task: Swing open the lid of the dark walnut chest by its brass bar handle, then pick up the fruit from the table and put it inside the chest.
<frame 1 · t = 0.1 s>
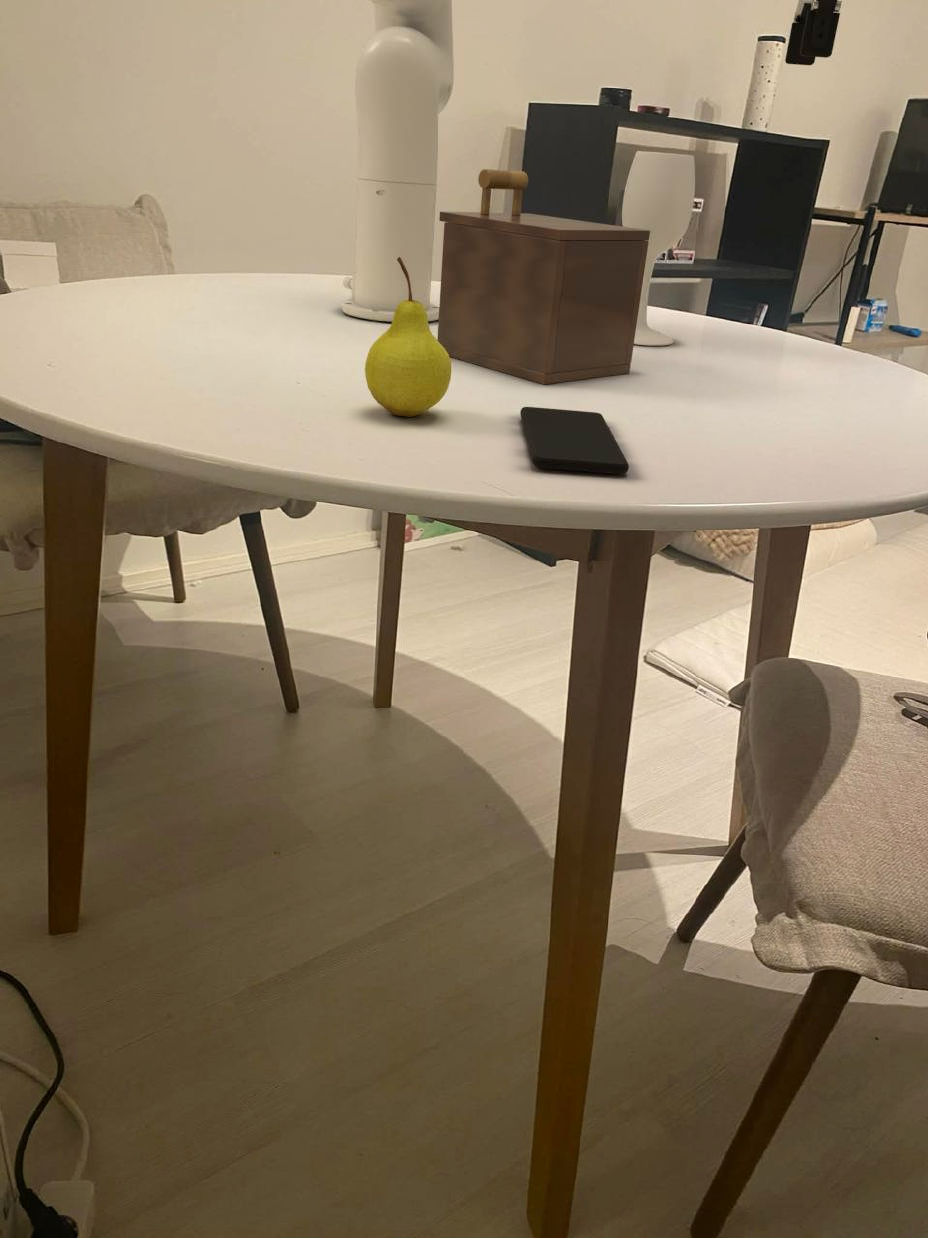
hand: (806, 60, 107), 31 cm above the table, tool pointing down, fingers open, 9 cm apart
smartphone: (569, 445, 75), on the table
fruit: (406, 416, 80), on the table
chest: (532, 362, 104), on the table
lid: (545, 202, 97), point 16 cm above the table, hinge at 0.0°
wineglass: (637, 341, 122), on the table
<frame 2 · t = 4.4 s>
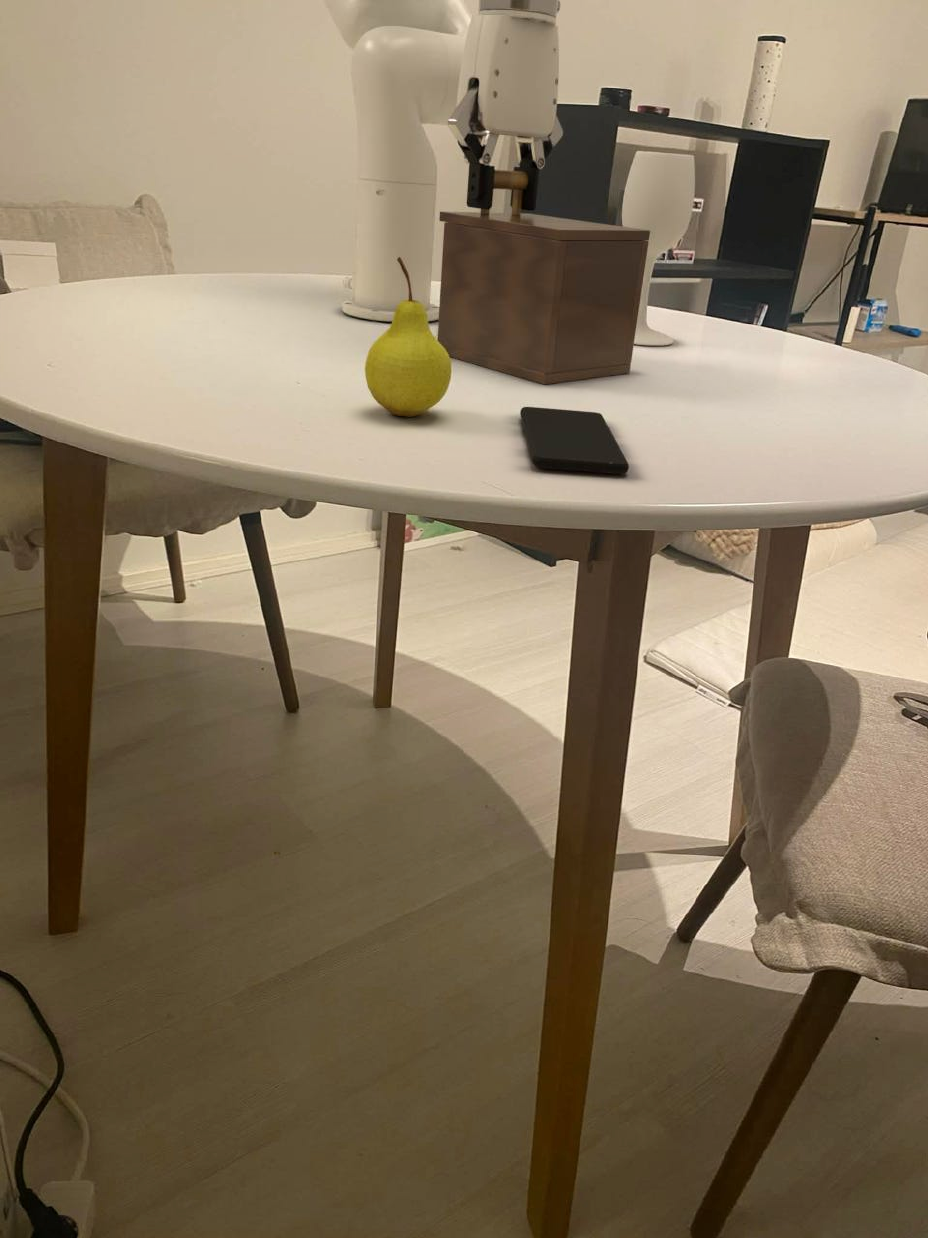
hand: (501, 206, 101), 15 cm above the table, tool pointing down, fingers closed on lid, 5 cm apart
lid: (545, 202, 97), point 16 cm above the table, hinge at 0.0°, touching gripper
everything else where it was.
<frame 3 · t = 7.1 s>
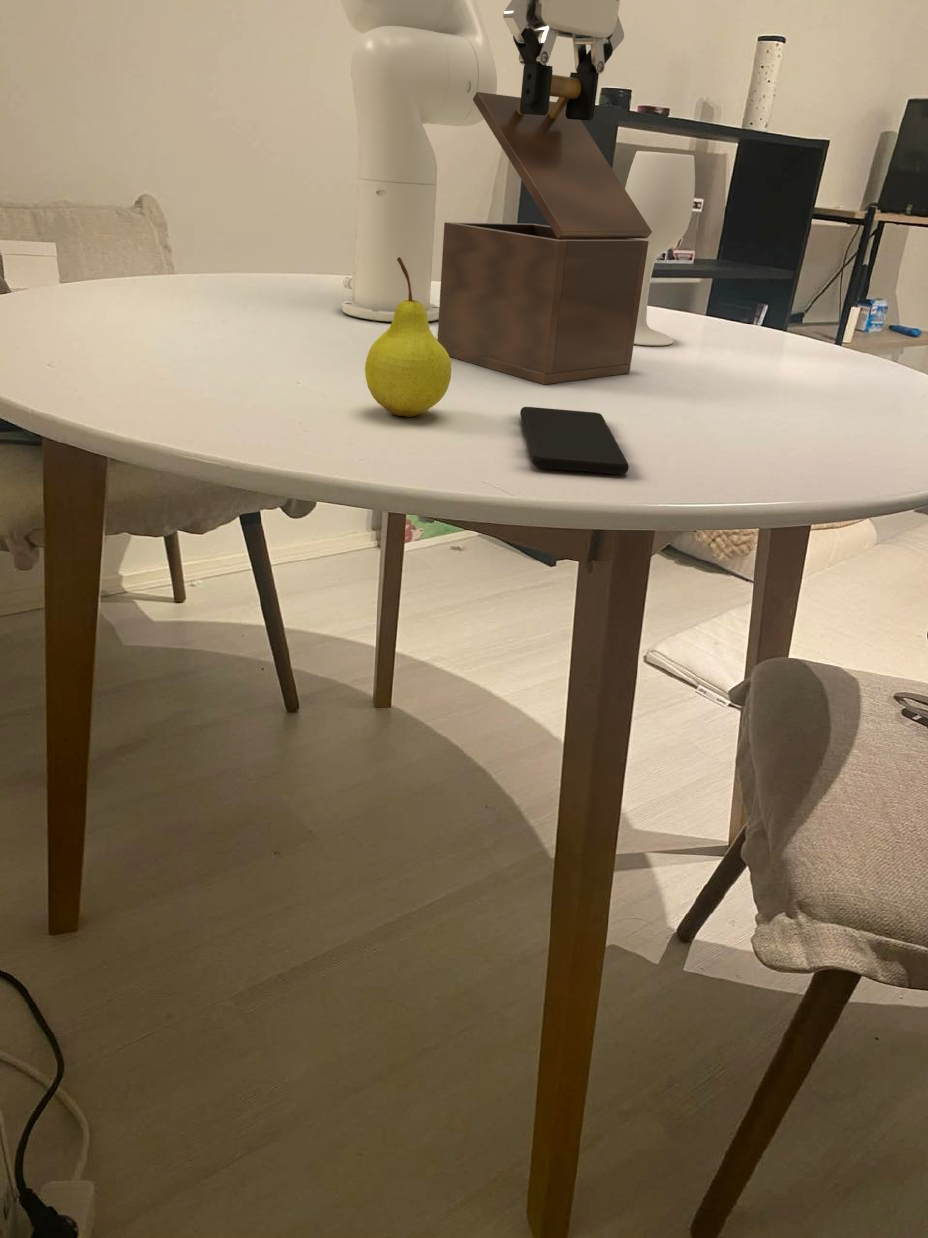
hand: (556, 114, 93), 23 cm above the table, tool pointing down, fingers closed on lid, 5 cm apart
lid: (576, 149, 93), point 21 cm above the table, hinge at 40.5°, touching gripper
everything else where it was.
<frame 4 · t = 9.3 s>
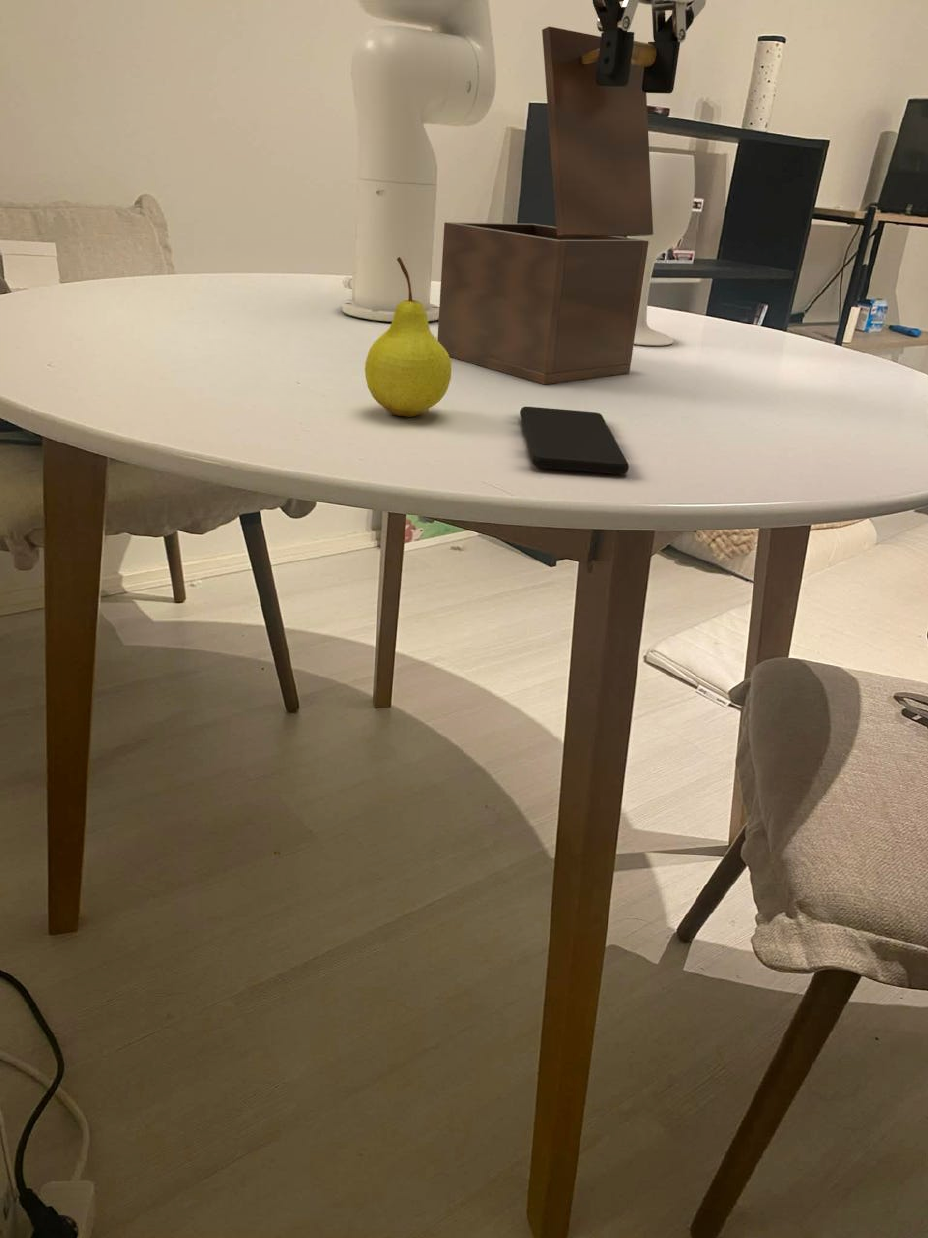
hand: (634, 86, 86), 26 cm above the table, tool pointing down, fingers closed on lid, 5 cm apart
lid: (619, 132, 89), point 22 cm above the table, hinge at 75.1°, touching gripper
everything else where it was.
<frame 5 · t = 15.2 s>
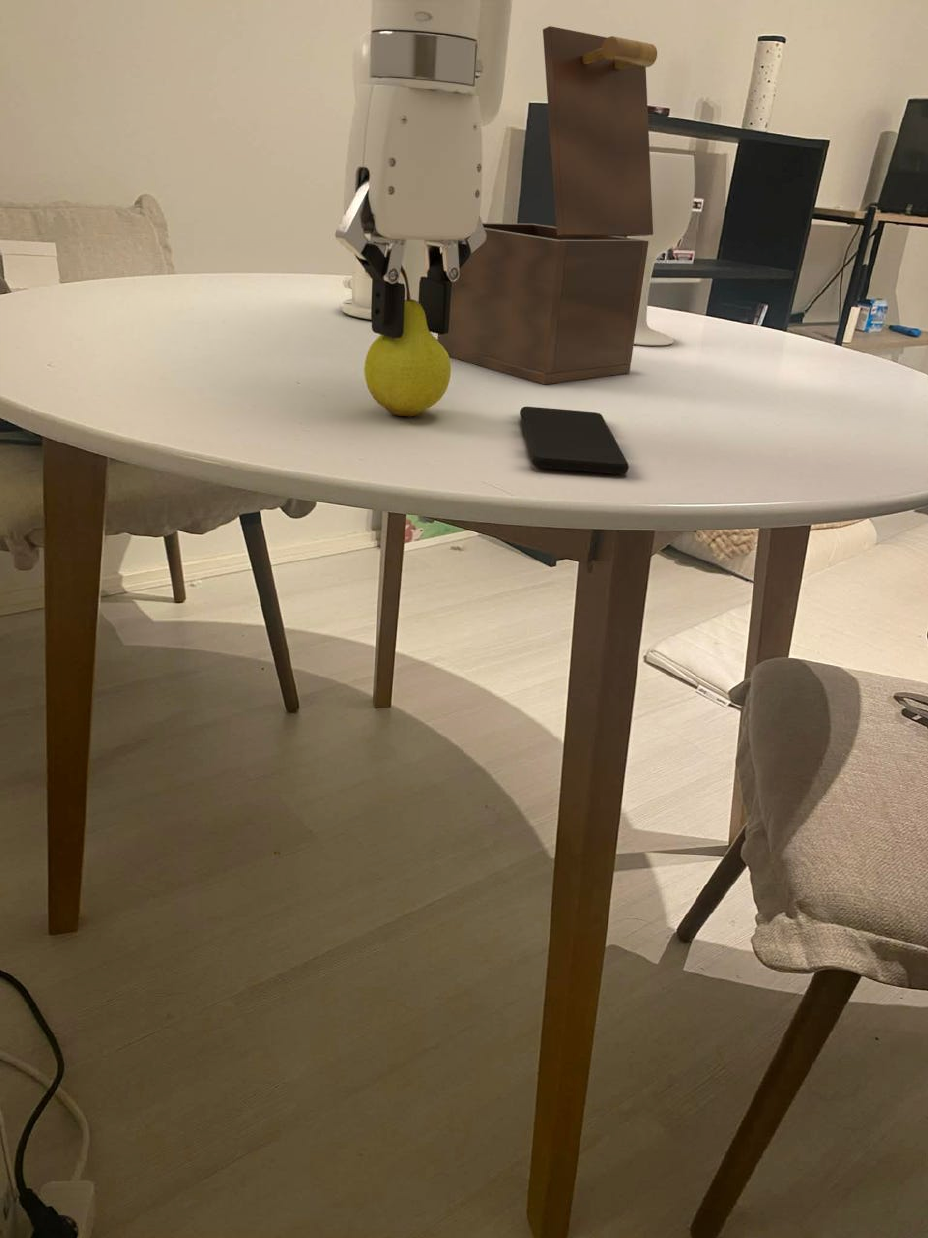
hand: (410, 330, 77), 7 cm above the table, tool pointing down, fingers closed on fruit, 3 cm apart
fruit: (406, 416, 80), on the table, touching gripper
lid: (619, 133, 89), point 22 cm above the table, hinge at 75.4°
everything else where it was.
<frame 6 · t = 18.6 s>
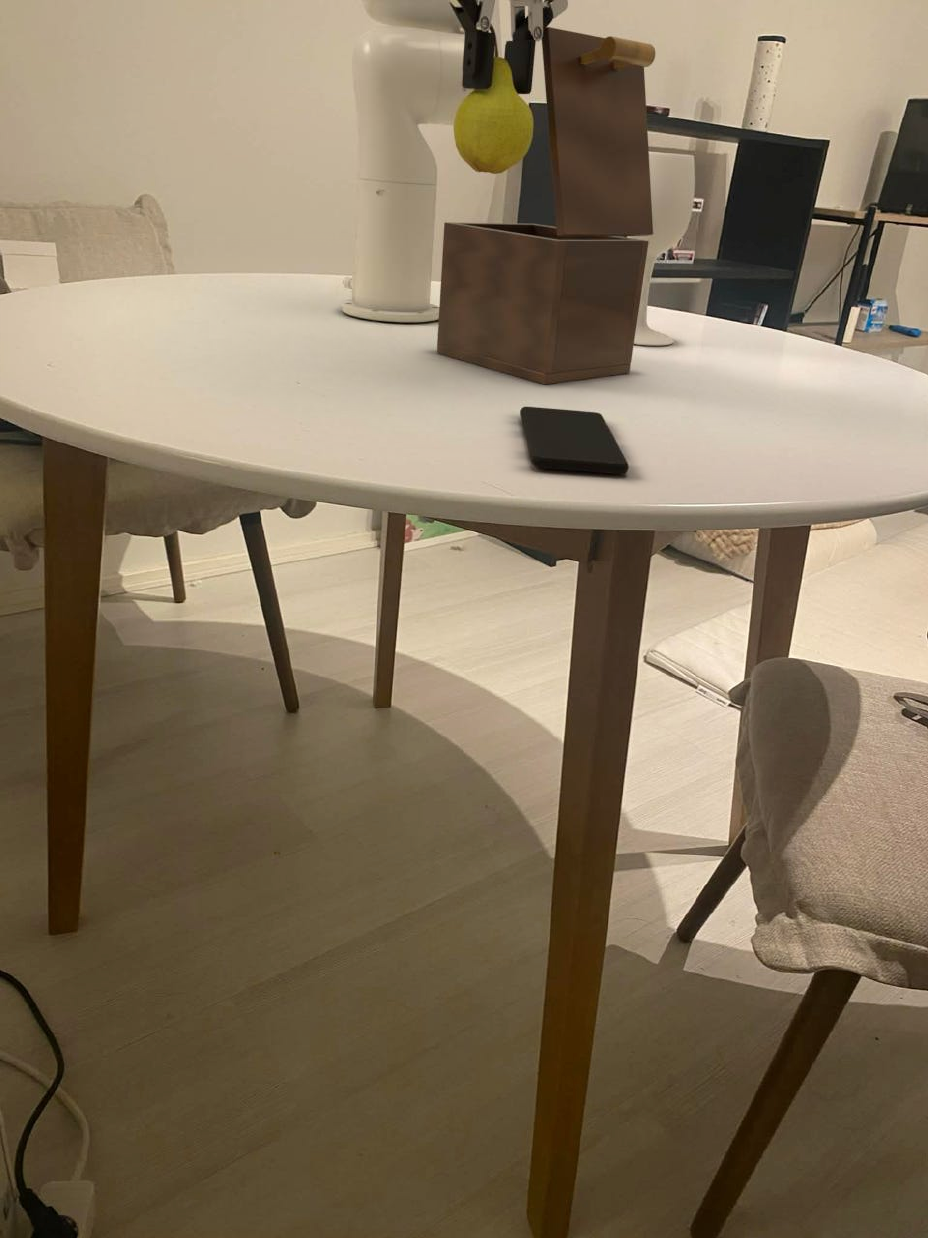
hand: (496, 88, 84), 25 cm above the table, tool pointing down, fingers closed on fruit, 3 cm apart
fruit: (490, 175, 87), point 18 cm above the table, touching gripper
lid: (618, 132, 89), point 22 cm above the table, hinge at 74.6°, touching gripper
everything else where it was.
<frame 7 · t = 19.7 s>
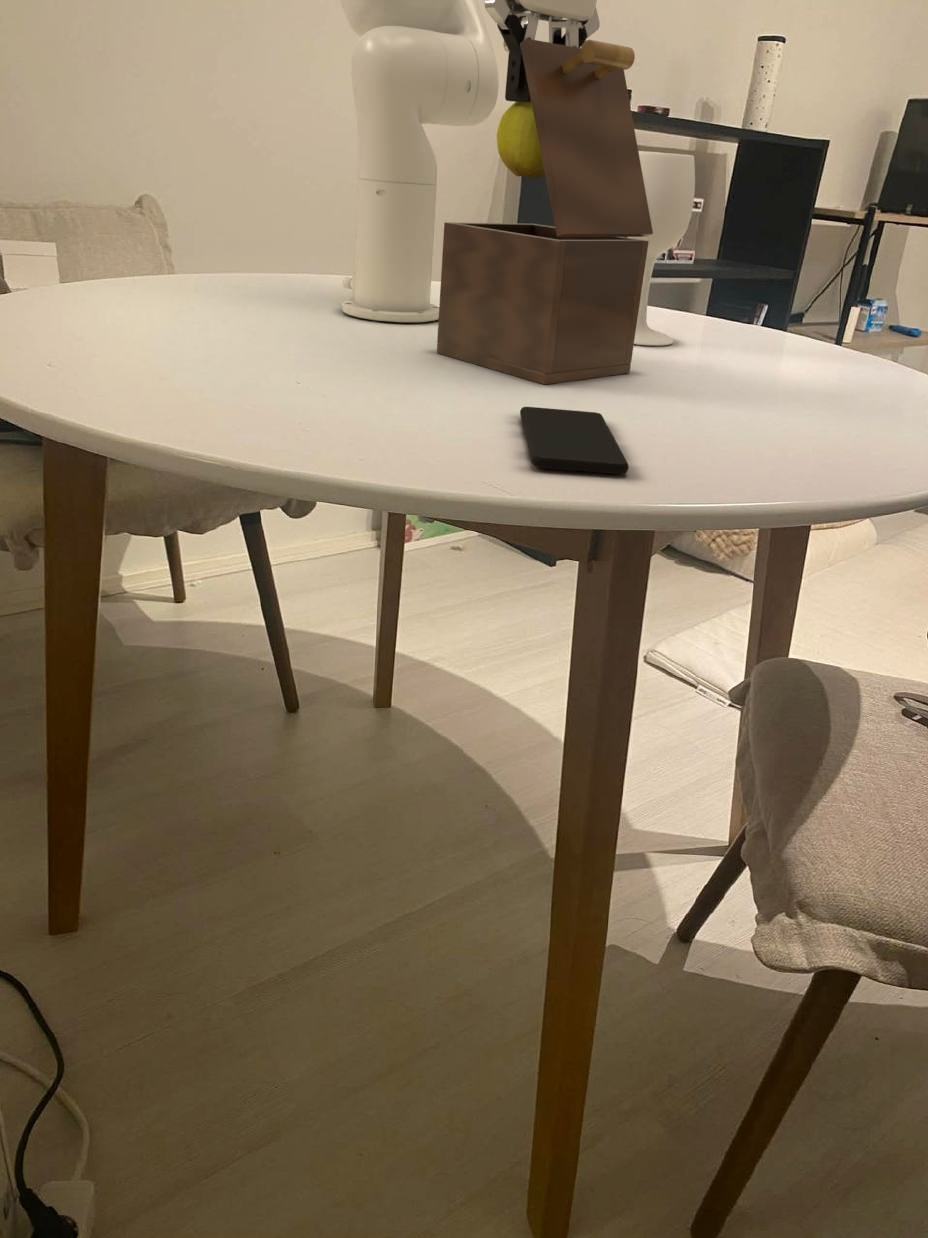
hand: (536, 101, 93), 24 cm above the table, tool pointing down, fingers closed on fruit, 3 cm apart
fruit: (529, 179, 96), point 18 cm above the table, touching gripper
lid: (606, 133, 90), point 22 cm above the table, hinge at 65.7°
everything else where it was.
when the fingers open (13 cm above the table, at t = 22.9 s): fruit drops 5 cm, resting on chest.
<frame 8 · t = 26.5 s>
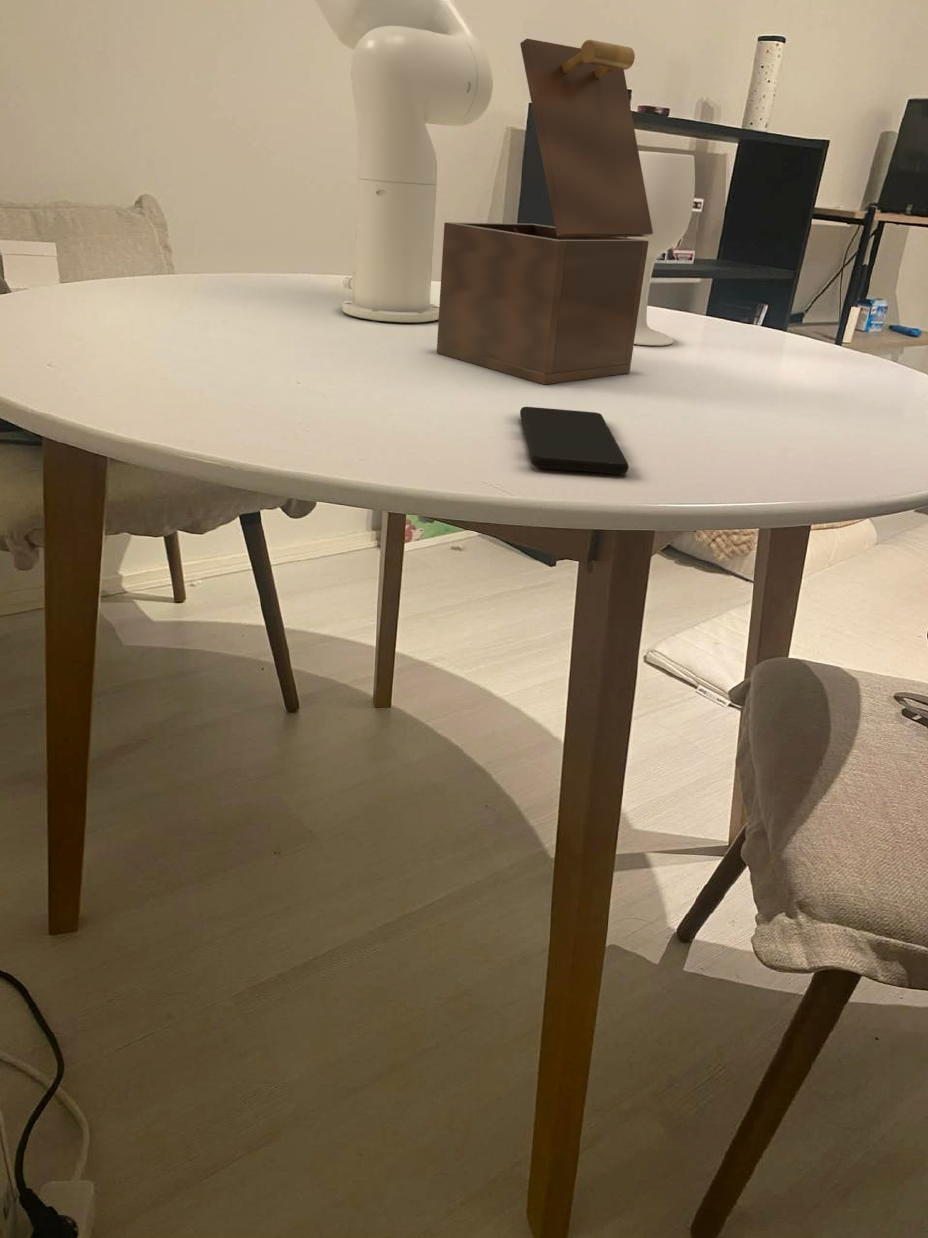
fruit: (517, 351, 105), point 1 cm above the table, touching chest
everything else where it was.
at the end: lid at +66° (first picture: +0°); fruit inside the target area in the chest (2.2 cm from its centre), point 0.8 cm above the chest's base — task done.
